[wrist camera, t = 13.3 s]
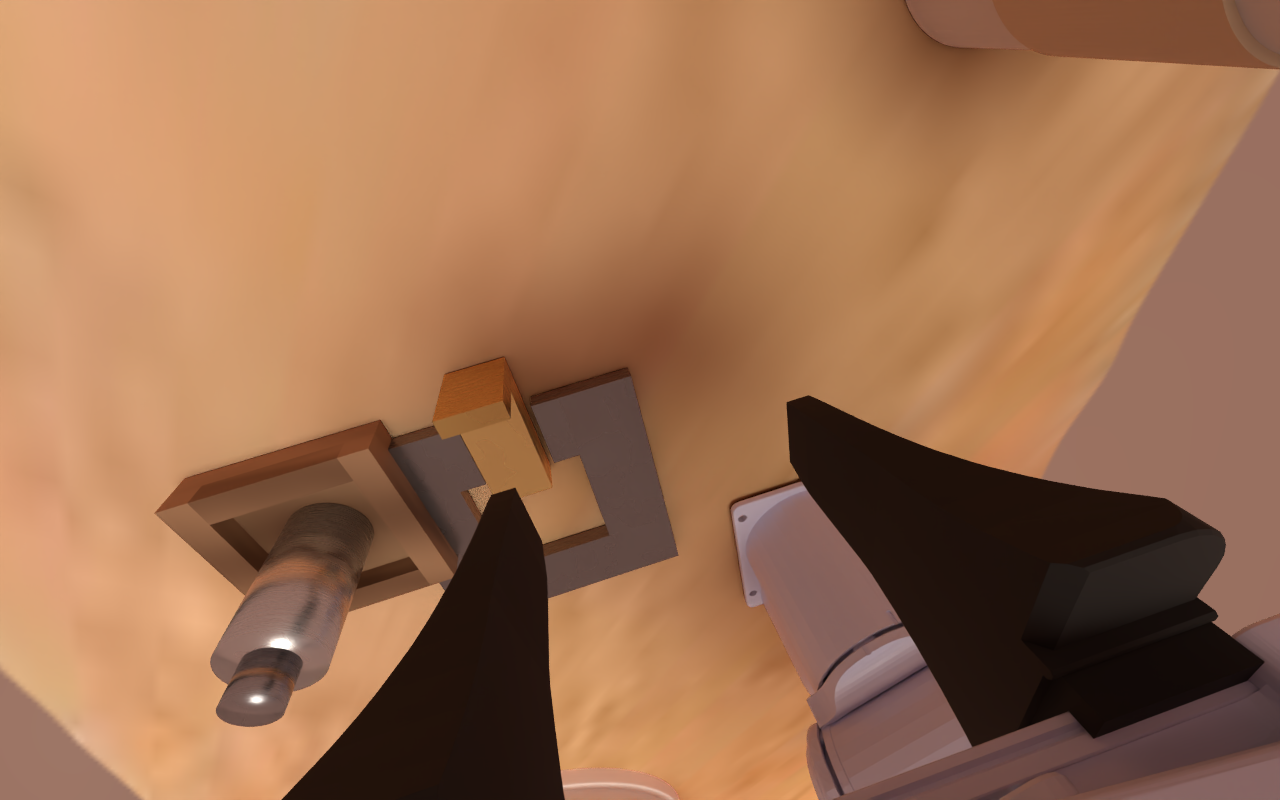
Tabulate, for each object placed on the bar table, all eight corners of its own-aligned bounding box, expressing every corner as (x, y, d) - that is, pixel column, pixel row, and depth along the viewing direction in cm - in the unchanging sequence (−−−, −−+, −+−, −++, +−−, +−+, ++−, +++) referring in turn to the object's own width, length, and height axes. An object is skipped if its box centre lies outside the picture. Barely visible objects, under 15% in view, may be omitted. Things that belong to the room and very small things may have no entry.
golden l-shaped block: (550, 465, 23) (555, 517, 20) (498, 481, 23) (496, 536, 20) (504, 357, 20) (502, 400, 17) (444, 375, 20) (432, 422, 17)
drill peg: (388, 544, 22) (336, 716, 16) (317, 568, 22) (236, 751, 16) (345, 492, 21) (267, 664, 14) (267, 519, 21) (153, 703, 14)
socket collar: (674, 544, 28) (678, 555, 28) (470, 611, 27) (469, 624, 27) (627, 367, 22) (630, 376, 21) (357, 449, 21) (351, 460, 20)
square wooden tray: (459, 545, 25) (455, 577, 23) (301, 595, 24) (285, 632, 23) (380, 420, 20) (368, 448, 19) (184, 478, 20) (154, 513, 18)
